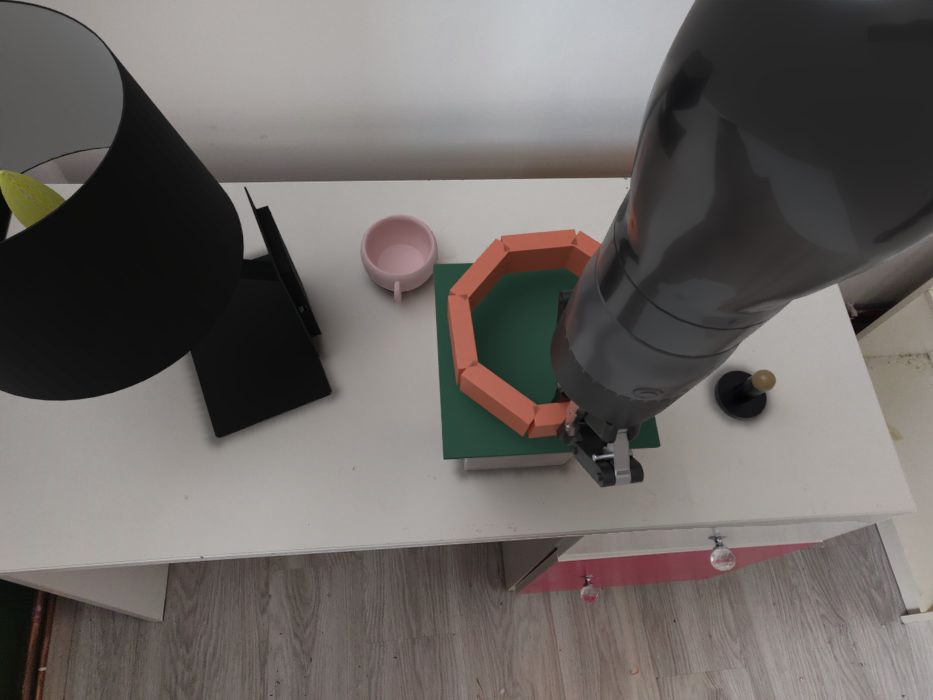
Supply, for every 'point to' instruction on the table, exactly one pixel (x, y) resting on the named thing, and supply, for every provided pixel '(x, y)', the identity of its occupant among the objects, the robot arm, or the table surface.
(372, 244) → the mug
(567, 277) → the pad
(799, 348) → the table surface
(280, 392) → the table lamp
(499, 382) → the ring
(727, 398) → the ring holder
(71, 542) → the table surface
